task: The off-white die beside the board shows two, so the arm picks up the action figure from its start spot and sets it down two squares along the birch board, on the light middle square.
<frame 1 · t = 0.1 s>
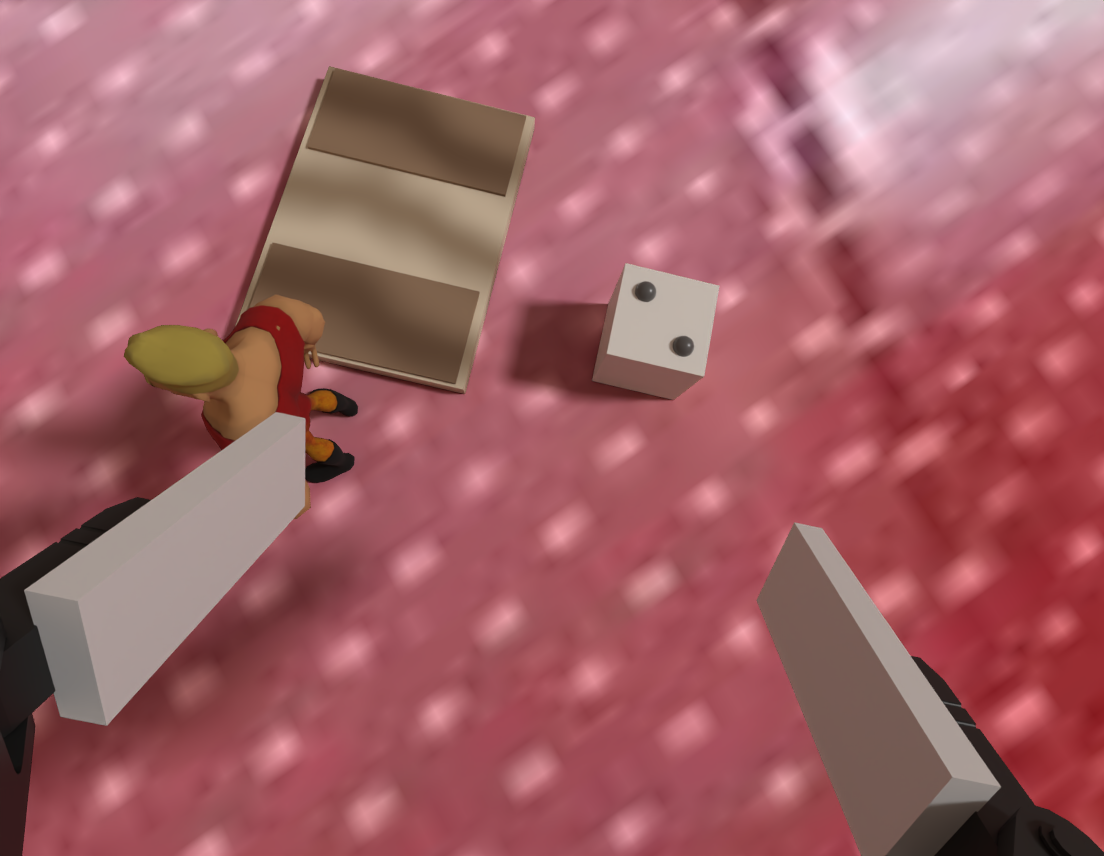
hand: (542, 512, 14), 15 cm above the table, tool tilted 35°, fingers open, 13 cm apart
board: (396, 229, 32), on the table
die: (640, 351, 31), on the table
action figure: (334, 436, 29), on the table
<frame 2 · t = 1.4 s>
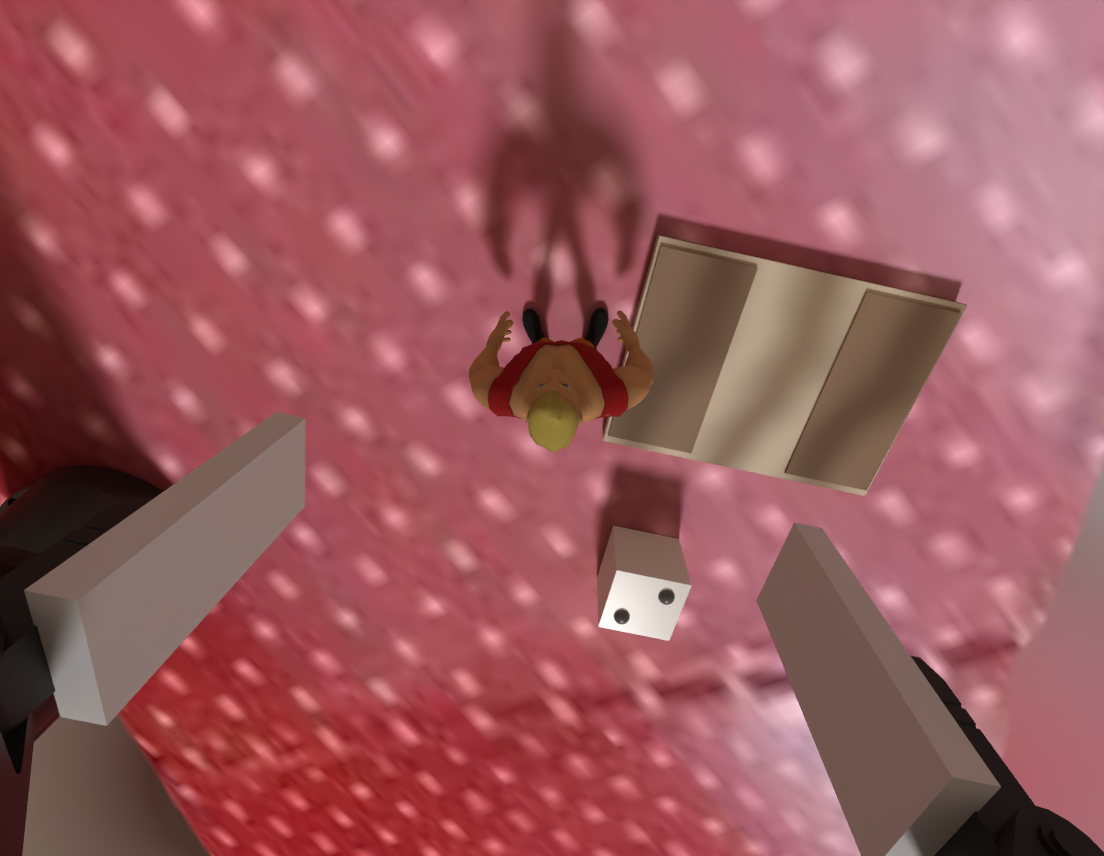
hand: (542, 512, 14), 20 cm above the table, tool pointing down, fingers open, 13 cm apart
board: (766, 372, 33), on the table
die: (637, 558, 39), on the table
action figure: (565, 328, 33), on the table
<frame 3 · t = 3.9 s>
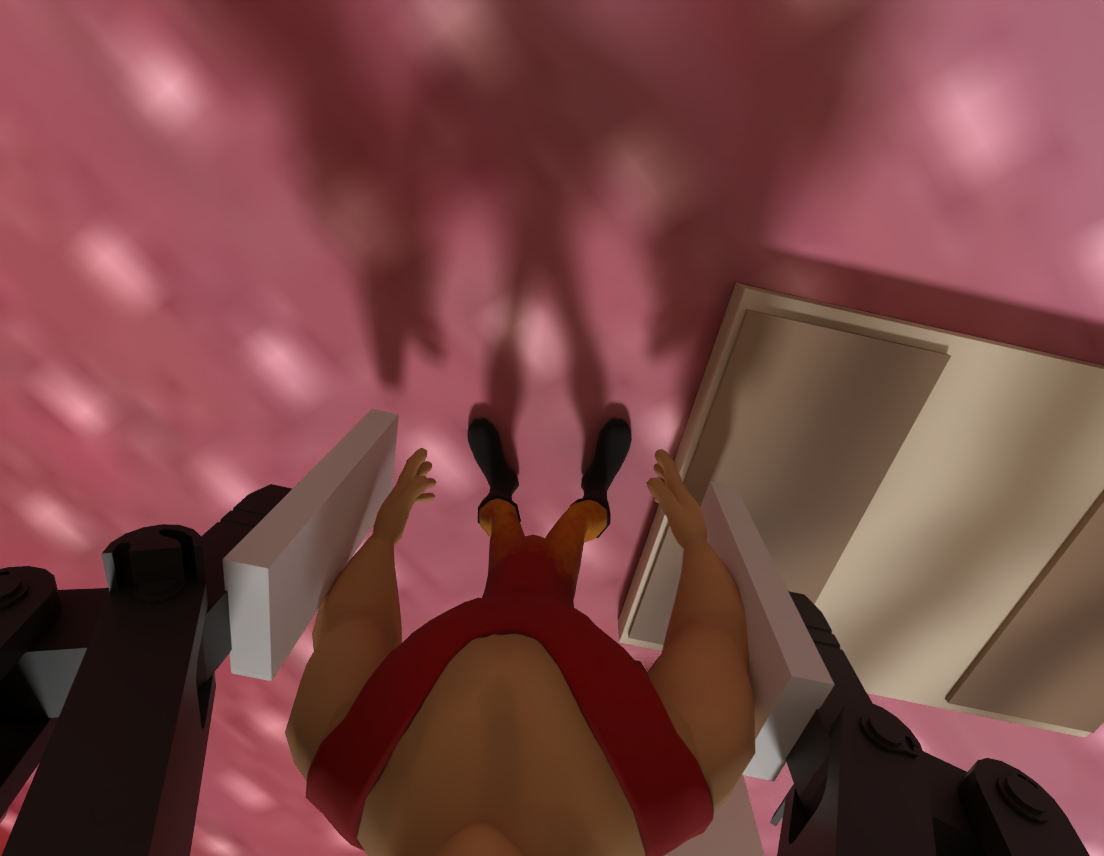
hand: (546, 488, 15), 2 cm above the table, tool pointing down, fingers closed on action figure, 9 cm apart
board: (926, 534, 18), on the table
die: (670, 794, 24), on the table
action figure: (550, 450, 17), on the table, touching gripper
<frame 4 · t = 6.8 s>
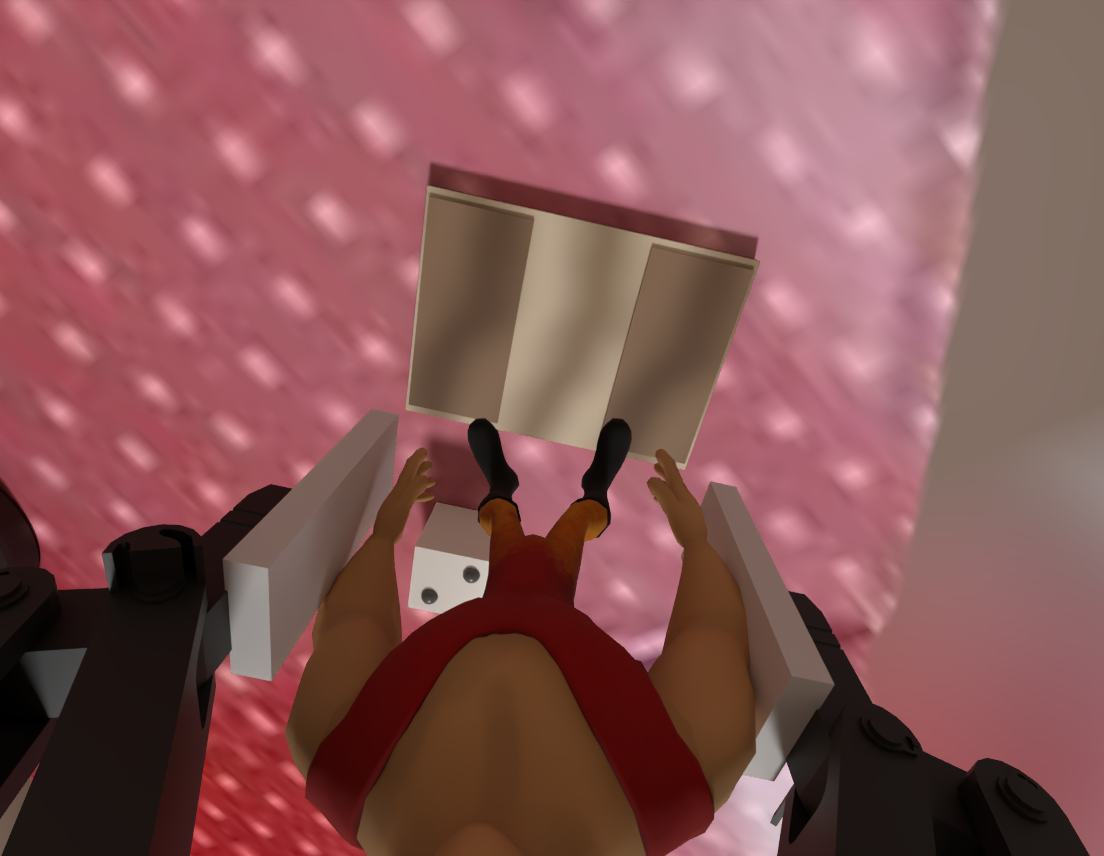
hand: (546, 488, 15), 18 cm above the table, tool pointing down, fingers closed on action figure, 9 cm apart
board: (569, 337, 31), on the table
die: (466, 537, 38), on the table
action figure: (550, 450, 17), point 15 cm above the table, touching gripper
when the fingers open (4 cm above the table, at t = 10.1 s): action figure drops 1 cm, resting on board.
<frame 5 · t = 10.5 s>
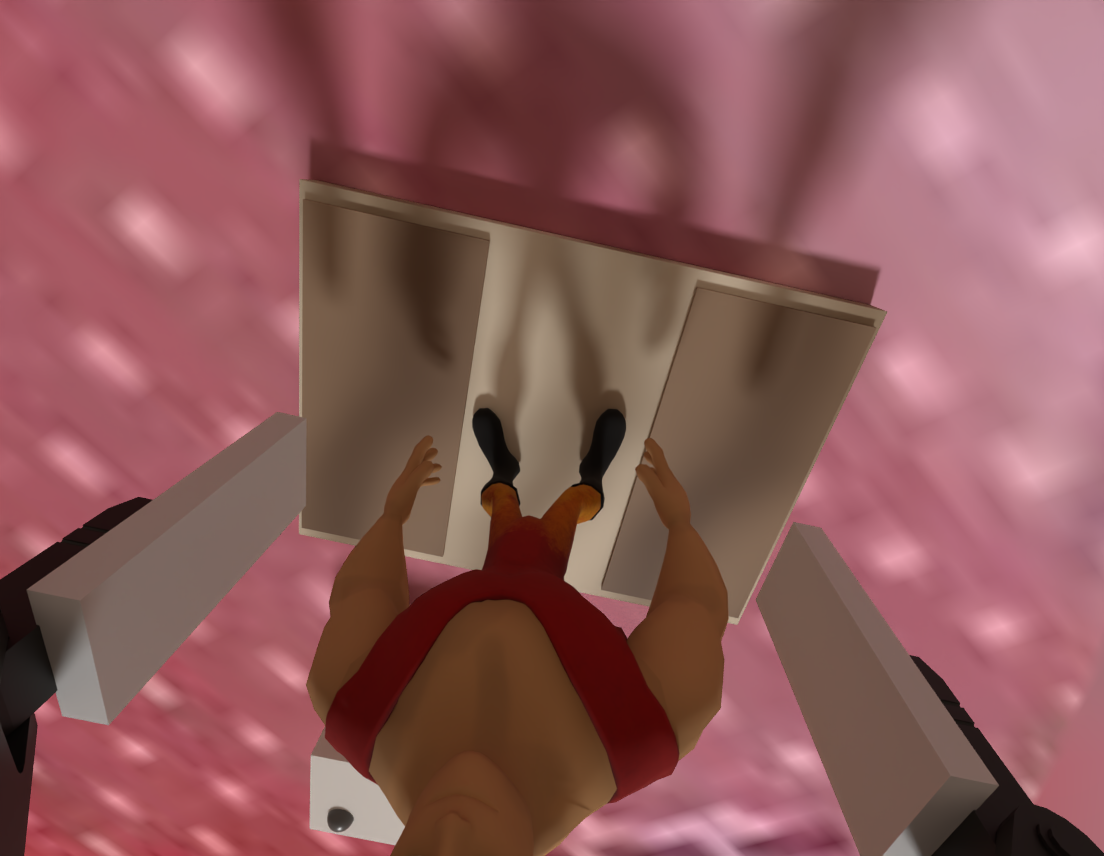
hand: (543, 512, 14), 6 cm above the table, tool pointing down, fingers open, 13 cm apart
board: (555, 426, 19), on the table
die: (409, 697, 26), on the table
action figure: (549, 438, 18), point 1 cm above the table, touching board
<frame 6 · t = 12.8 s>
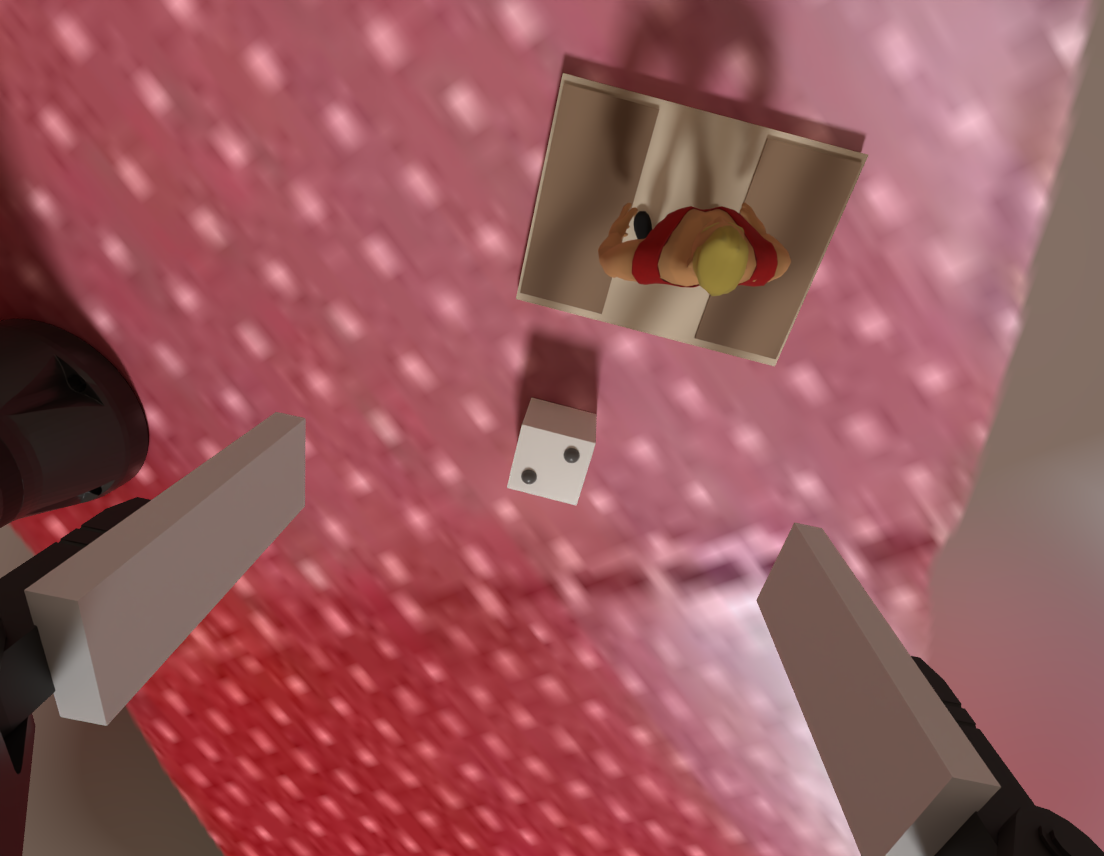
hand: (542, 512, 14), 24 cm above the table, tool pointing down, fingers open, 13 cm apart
board: (676, 231, 33), on the table
die: (556, 435, 40), on the table
action figure: (675, 233, 33), point 1 cm above the table, touching board
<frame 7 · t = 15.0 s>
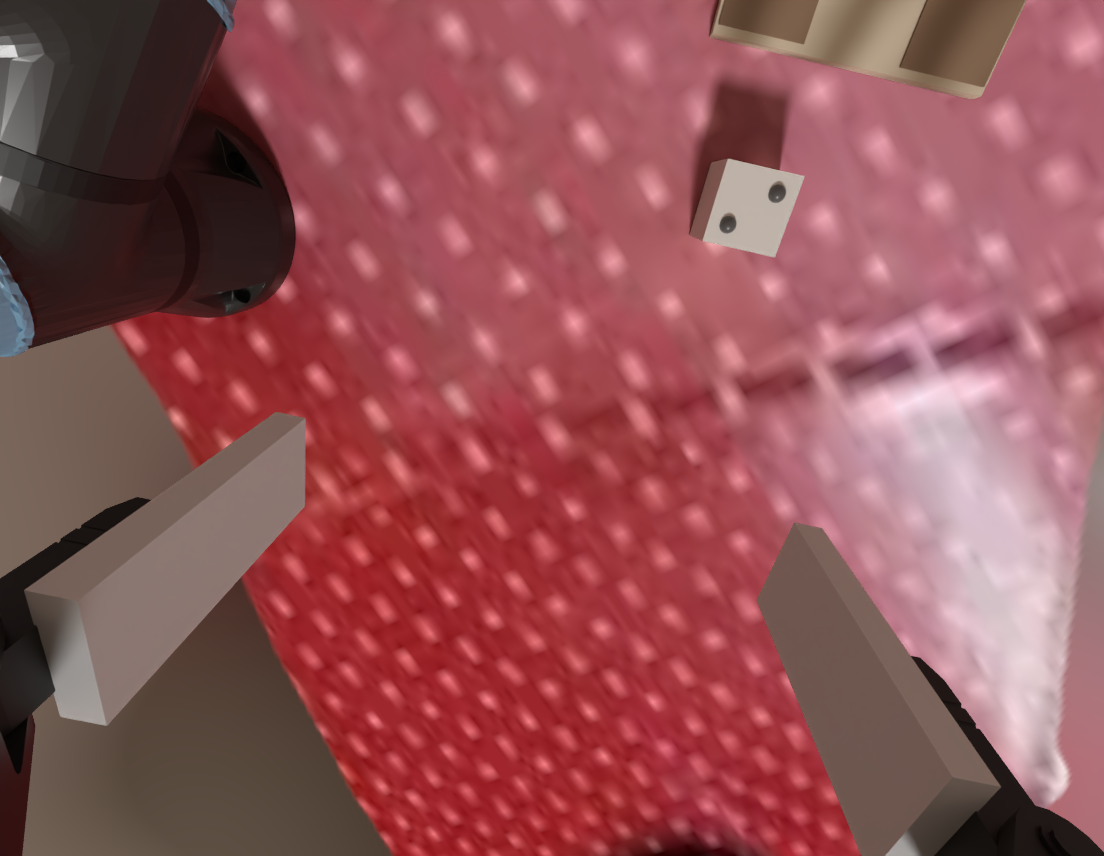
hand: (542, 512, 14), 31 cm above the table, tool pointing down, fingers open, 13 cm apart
die: (732, 207, 38), on the table
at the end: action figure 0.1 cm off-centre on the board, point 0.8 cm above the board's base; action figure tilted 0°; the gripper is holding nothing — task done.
